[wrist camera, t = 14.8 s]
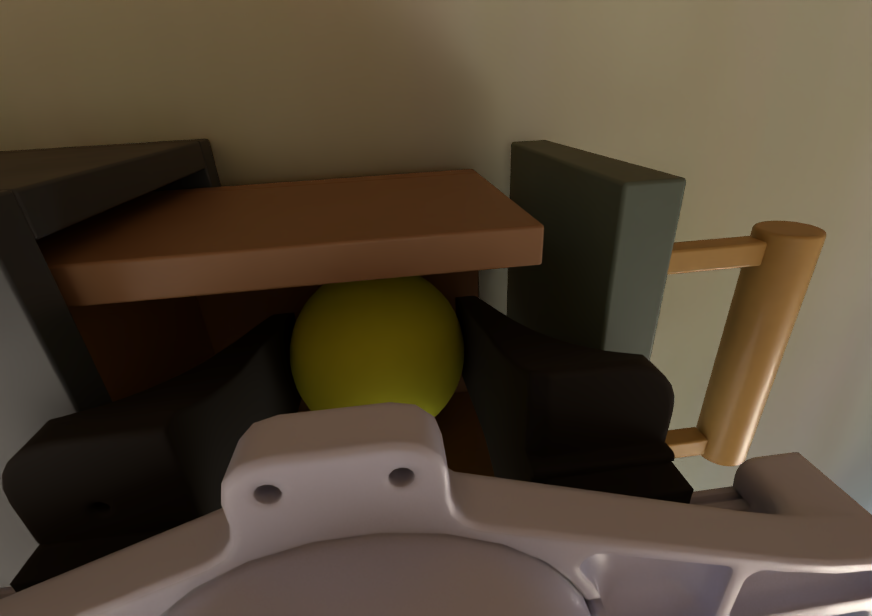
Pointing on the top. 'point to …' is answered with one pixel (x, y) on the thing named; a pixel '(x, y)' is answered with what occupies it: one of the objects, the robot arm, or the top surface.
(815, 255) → the drawer
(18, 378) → the cabinet
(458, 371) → the ball
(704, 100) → the top surface
